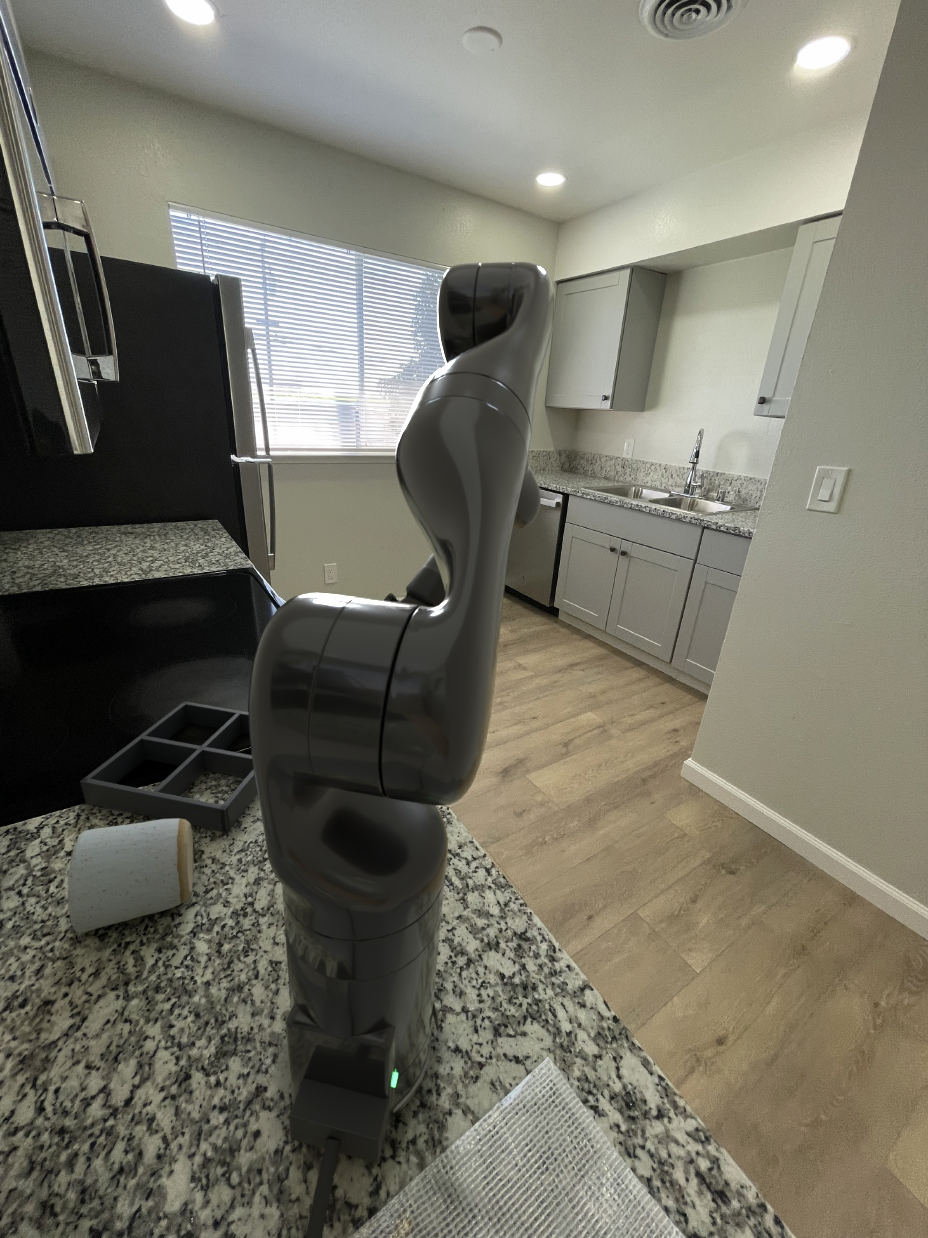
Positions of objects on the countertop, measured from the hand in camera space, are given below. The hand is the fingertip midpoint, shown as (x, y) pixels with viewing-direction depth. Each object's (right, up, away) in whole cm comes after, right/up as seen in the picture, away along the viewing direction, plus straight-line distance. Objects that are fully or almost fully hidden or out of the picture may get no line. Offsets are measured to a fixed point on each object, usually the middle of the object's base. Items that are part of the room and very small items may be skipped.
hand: (376, 667), depth 74 cm
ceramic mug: (-16, -17, -28) cm, 37 cm away
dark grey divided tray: (-18, -11, -13) cm, 25 cm away
